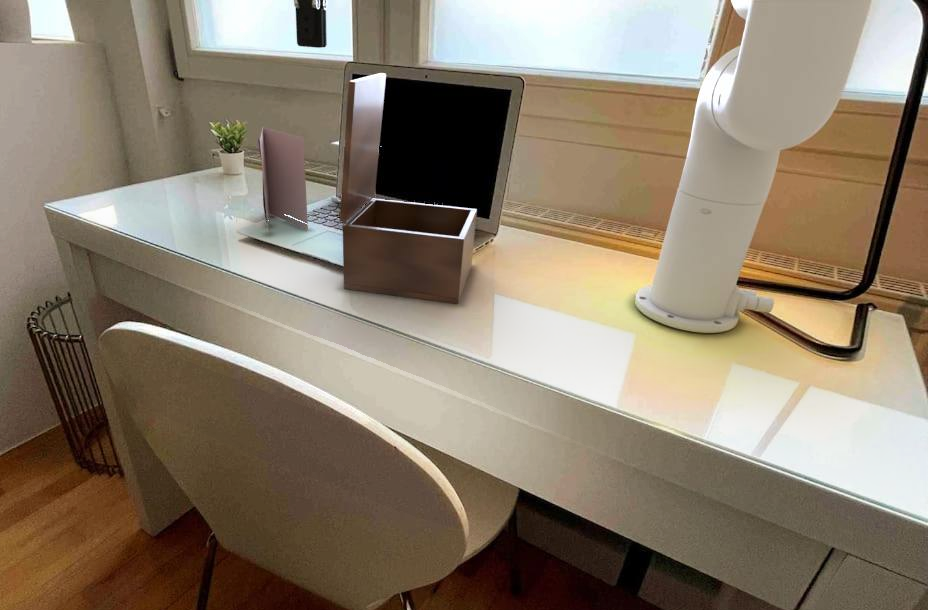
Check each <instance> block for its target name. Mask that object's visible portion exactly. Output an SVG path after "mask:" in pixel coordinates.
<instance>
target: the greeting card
mask: <svg viewBox="0 0 928 610" xmlns="http://www.w3.org/2000/svg"><path fill="white" fill-rule="evenodd" d="M257 143H258V151H259V154H260V155H259V156H260V162H261V171H262V205H263V212H264V217H265V222H266V228H268V229H267V233H269V232H270V221H271V220H270V219H271V216H273V217H275V218H278V219H280V220H283V221H284V222H287V223H289V224H292V225H294V226H297V227H299V228H302V229H303V230H305V231H309V222H308V221H309V220H308V219H309V218H308V201H307V182H306V181H307V180H306V162H305V159H306V158H305V141H304V137H301V136H297V135H294V134H288V133H286V132H283V131H280V130H279V131H278V130H275V129H271V128H267V127H263V126H262V128H261V132H260V137H257ZM284 214H286V215H290V216H292V217H294V218H296V219H298V220H301V221H303V222H305V223H307V224H308V225H307V224H305V223H302V222H300V221H297V220H295V219H293V218H290V217H288V216H285V215H284ZM268 220H269V221H268Z"/></svg>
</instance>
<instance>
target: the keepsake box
mask: <svg viewBox="0 0 928 610" xmlns="http://www.w3.org/2000/svg"><path fill="white" fill-rule="evenodd" d="M477 213H478V209H477V208H470V207H469V208H468V207H459V206H452V205H443V204H442V205H438V204H434V205H433V204H425V203H421V202H415V201H414V202H404V200H403V201H402V200H395V199H394V200H385V198H376V197H375V198H372V199H371V200H370V201H369V202H368V203H367V204H366V205H364V206H363V207H362V208H360V209H359V210H358V211H357V212H356V213H355V214H354V215H353V216H352V217H351V218H350V219H349V220H347V221H346V222H344V224H342V259H343V260H342V261H343V262H342V266H343V268H342V269H343V289H345V290H352V291H358V292H366V293H374V294H381V295H388V296H396V297H404V298H411V299H418V300H425V301H426V300H427V301H434V302H439V303H448V304H455V305H458V304H459V303H460V300H461V297H462V294H463V291H464V289H465V287H466V286H465V285H466V282H467V281H468V277H469V274H470V272H471V269H472V266H473V265H472V263H473V253H474V246H475V245H474V244H475V234H476V225H477V215H478V214H477Z"/></svg>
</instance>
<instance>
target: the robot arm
mask: <svg viewBox="0 0 928 610" xmlns="http://www.w3.org/2000/svg"><path fill="white" fill-rule="evenodd" d="M730 2H731V4H732V7H733V9H734V11H735V12H736V13H737V15H738V16H739V17H740V18H741V19H744V20H745V24H744V30H743V34H742V38H741V44H739V45H738V46H736V47H734V48H731V50H729V51H727V52H726V53H725V54H723V55H722V56H721V57H720V58H719V59H718V60H717V61H716V62H715V63H714V64H713V65H712V66H711V67H710V69H709V71H708V72H707V74H706V76H705V78H704V80H703V82H702V84H701V86H700V89H699V93H698V96H697V101H696V103H695V110H694V115H693V121H692V127H691V134H690V140H689V144H688V149H687V153H686V157H685V161H684V165H683V169H682V172H681V177H680V181H679V184H678V187H677V190H676V194H675V197H674V201H673V205H672V209H671V211H670V212H671V213H670V216H669V220H668V222H667V223H668V224H667V227H666V229H665V230H666V231H665V234H664V238H663V242H662V245H661V249H660V253H659V257H658V260H657V264H656V267H655V271H654V275H653V278H652V282H651V285H648V286H644V287H642V288H640V289H639V290H638V291H637V292H636V294H635V299H634V305H635V306H636V308H637V309H638V310H639V312H640V313H642V314H643V315H645V316H646V317H647V318H649V319H651V320H653V321H655V322H657V323H659V324H662V325H665V326H668V327H669V328H674V329H678V330H682V331H686V332H692V333H699V334H700V333H701V334H717V333H724V332H728V331H730V330H732V329H734V328H735V327H736V326H737V325H738V321H739V319H740V313H739V312H743V311H744V310H751V311H753V312H759V313H767V314H768V313H771V312H772V311H773V309H774V304H775V300H774V298H773V297H770V296H769V297H768V296H761V295H757V291H756V290H753V289H740V288H739V286H738V285H737V282H738V281H739V277H740V274H741V272H742V270H743V266H744V263H745V260H746V257H747V255H748V252H749V249H750V246H751V243H752V240H753V238H754V235H755V232H756V229H757V226H758V225H759V224H758V223H759V220H760V217H761V215H762V212H763V209H764V207H765V203H766V201H767V199H768V196H769V194H770V191H771V188H772V185H773V181H774V178H775V175H776V172H777V167H778V163H779V159H780V153H781V151H783V150H788V149H791V148H793V147H797V146H798V145H800V144H802V143H804V142H806V141H808V140H809V139H810V138H812V137H813V136H814V135H815V134H817V133H818V132H819V131H820V130H821V129H822V128H823V127H824V125H826V123H827V122H828V121H829V120H830V118H831V116H832V115H833V113H834V112H835V110H836V109H837V107H838V104H839V102H840V100H841V98H842V95H843V93H844V90H845V87H846V84H847V83H848V79H849V75H850V72H851V70H852V66H853V63H854V60H855V56H856V53H857V50H858V48H859V44H860V41H861V38H862V34H863V31H864V28H865V24H866V21H867V18H868V15H869V12H870V8H871V4H872V2H873V0H730ZM293 5H294V8H295V28H296V31H295V32H296V44H297V46H298V47H305V48H315V49H316V48H318V49H321V48H326V47H327V45H328V42H327V39H328V37H327V8H328V7H327V6H328V0H293Z"/></svg>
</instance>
